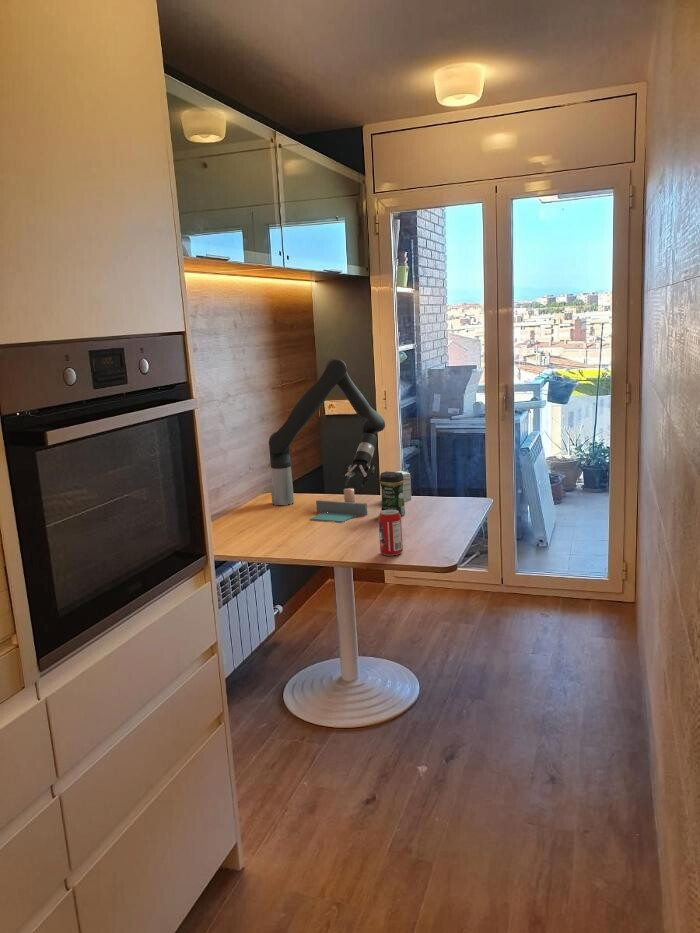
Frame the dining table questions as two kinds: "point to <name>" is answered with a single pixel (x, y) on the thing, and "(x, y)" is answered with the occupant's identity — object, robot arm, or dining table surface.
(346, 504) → the low wall
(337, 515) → the teal mat
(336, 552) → the dining table surface
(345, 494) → the tan domed capsule
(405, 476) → the supplement box
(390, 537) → the soda can
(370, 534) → the dining table surface
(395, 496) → the coffee jar
